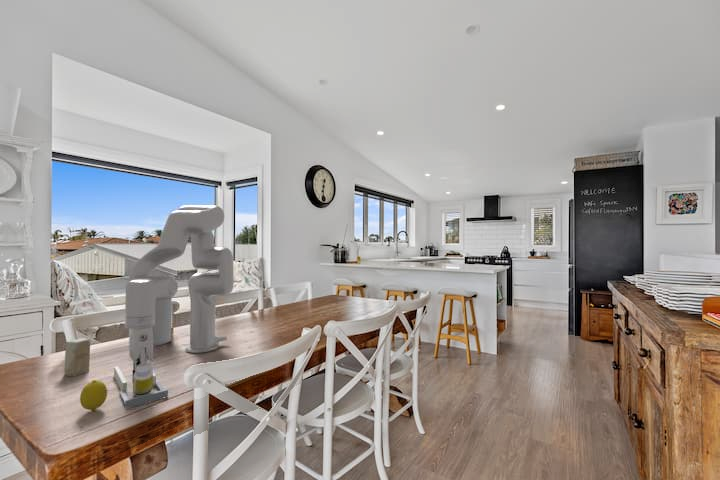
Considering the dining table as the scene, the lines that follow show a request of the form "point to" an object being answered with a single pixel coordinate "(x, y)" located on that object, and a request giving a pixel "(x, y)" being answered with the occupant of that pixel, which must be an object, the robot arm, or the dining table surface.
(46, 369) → the dining table surface
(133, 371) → the robot arm
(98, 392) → the lemon
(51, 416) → the dining table surface
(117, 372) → the chute
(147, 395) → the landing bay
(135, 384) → the supplement bottle
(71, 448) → the dining table surface
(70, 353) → the box
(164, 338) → the cylinder vase
